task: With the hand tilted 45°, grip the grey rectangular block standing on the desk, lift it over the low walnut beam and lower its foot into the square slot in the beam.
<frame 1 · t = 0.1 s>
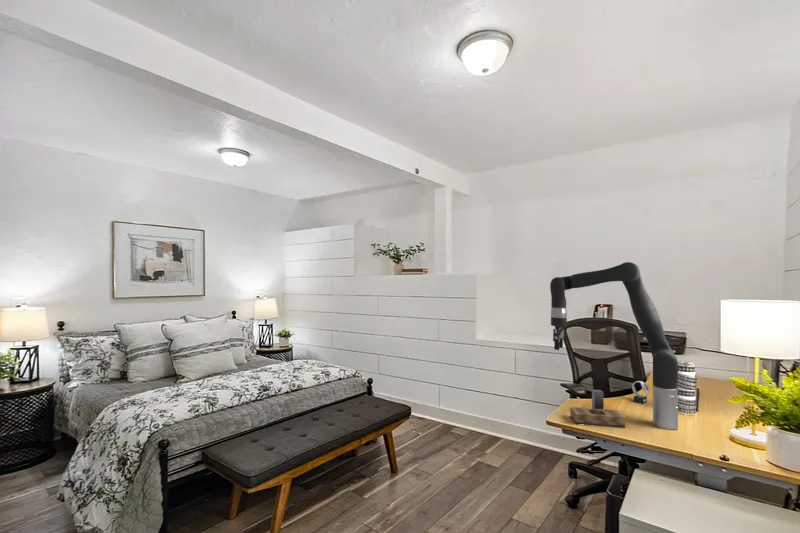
hand: (558, 348, 202), 29 cm above the table, tool pointing down, fingers open, 8 cm apart
grey rectangular block: (597, 414, 192), on the table
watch: (640, 402, 212), on the table
model tower building: (685, 413, 196), on the table
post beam: (596, 422, 180), on the table
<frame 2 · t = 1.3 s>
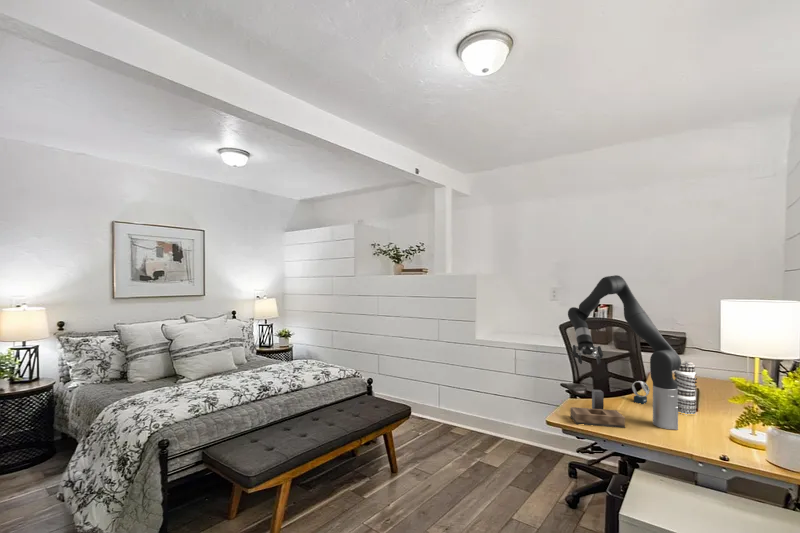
hand: (590, 363, 204), 22 cm above the table, tool tilted 45°, fingers open, 8 cm apart
nothing on the table moved.
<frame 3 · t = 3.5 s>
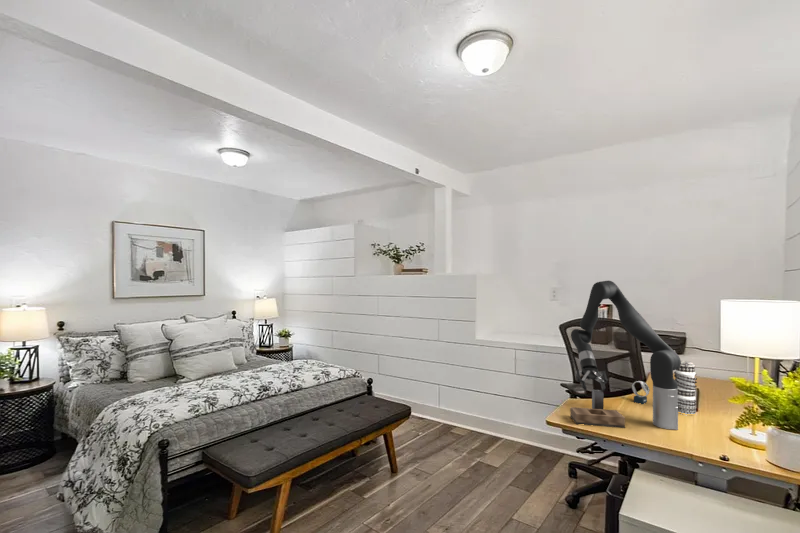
hand: (594, 389, 197), 10 cm above the table, tool tilted 45°, fingers open, 8 cm apart
nothing on the table moved.
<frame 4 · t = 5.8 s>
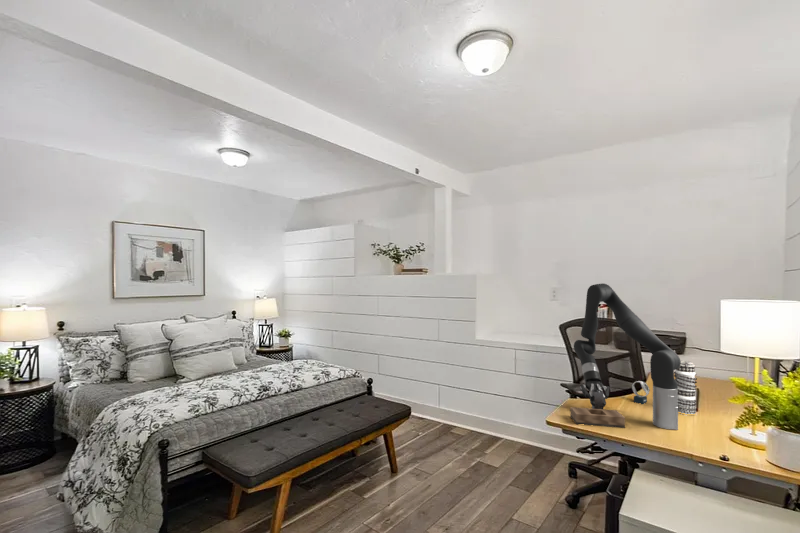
hand: (599, 405, 190), 5 cm above the table, tool tilted 45°, fingers closed on grey rectangular block, 4 cm apart
grey rectangular block: (597, 414, 192), on the table, touching gripper
everything else where it was.
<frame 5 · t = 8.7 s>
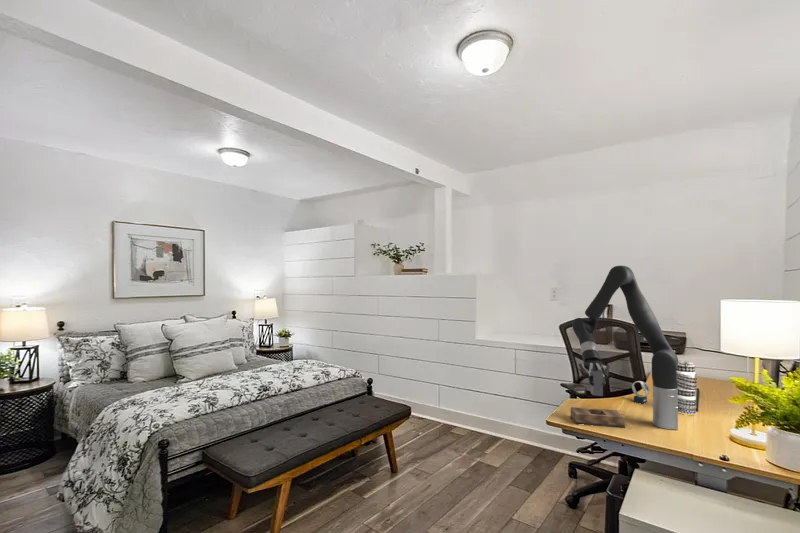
hand: (598, 385, 179), 17 cm above the table, tool tilted 45°, fingers closed on grey rectangular block, 4 cm apart
grey rectangular block: (596, 394, 181), point 12 cm above the table, touching gripper
everything else where it was.
when the fingers open (7 cm above the table, at t = 11.6 s): grey rectangular block stays where it is, resting on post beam.
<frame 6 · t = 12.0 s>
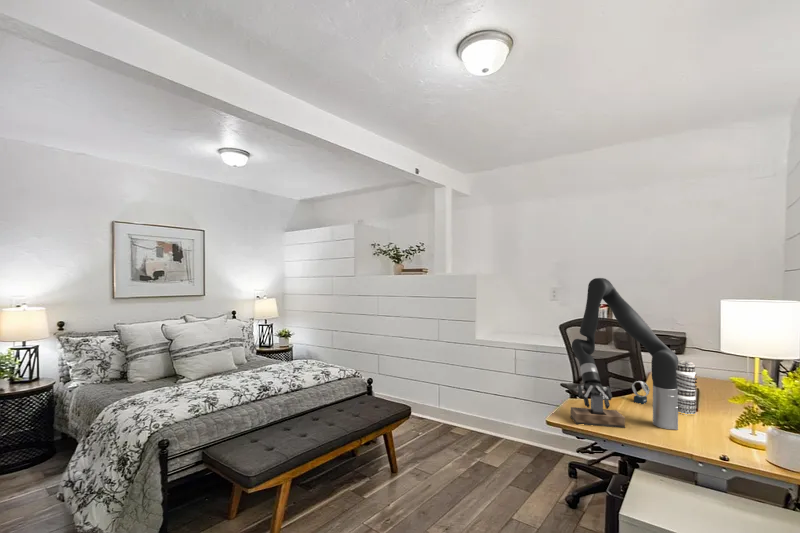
hand: (597, 407, 179), 7 cm above the table, tool tilted 45°, fingers open, 7 cm apart
grey rectangular block: (596, 419, 180), point 1 cm above the table, touching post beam
everything else where it was.
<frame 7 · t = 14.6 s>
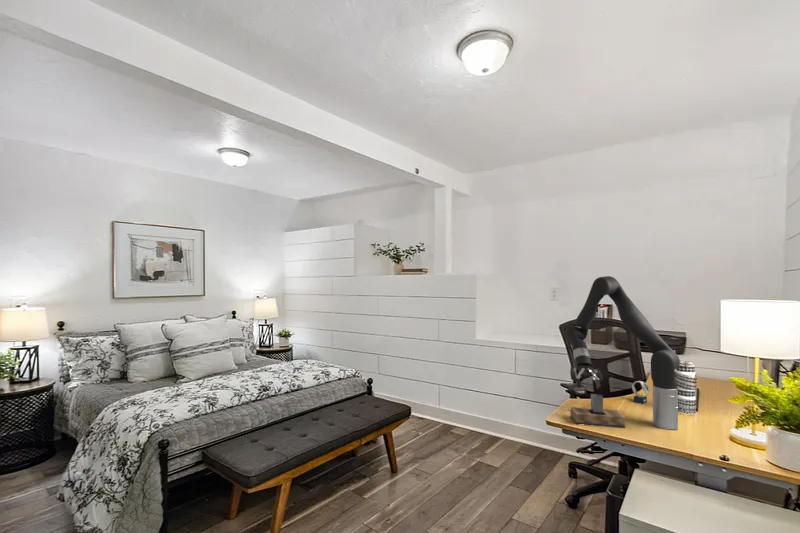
hand: (589, 387, 192), 13 cm above the table, tool tilted 45°, fingers open, 8 cm apart
nothing on the table moved.
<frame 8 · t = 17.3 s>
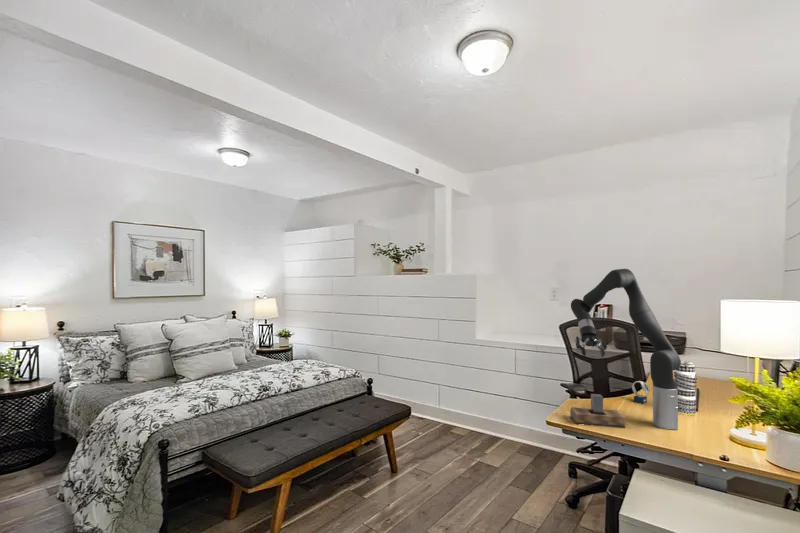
hand: (593, 355, 200), 27 cm above the table, tool tilted 45°, fingers open, 8 cm apart
nothing on the table moved.
at the end: grey rectangular block 0.0 cm off-centre on the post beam, point 1.0 cm above the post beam's base; grey rectangular block tilted 0°; the gripper is holding nothing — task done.
